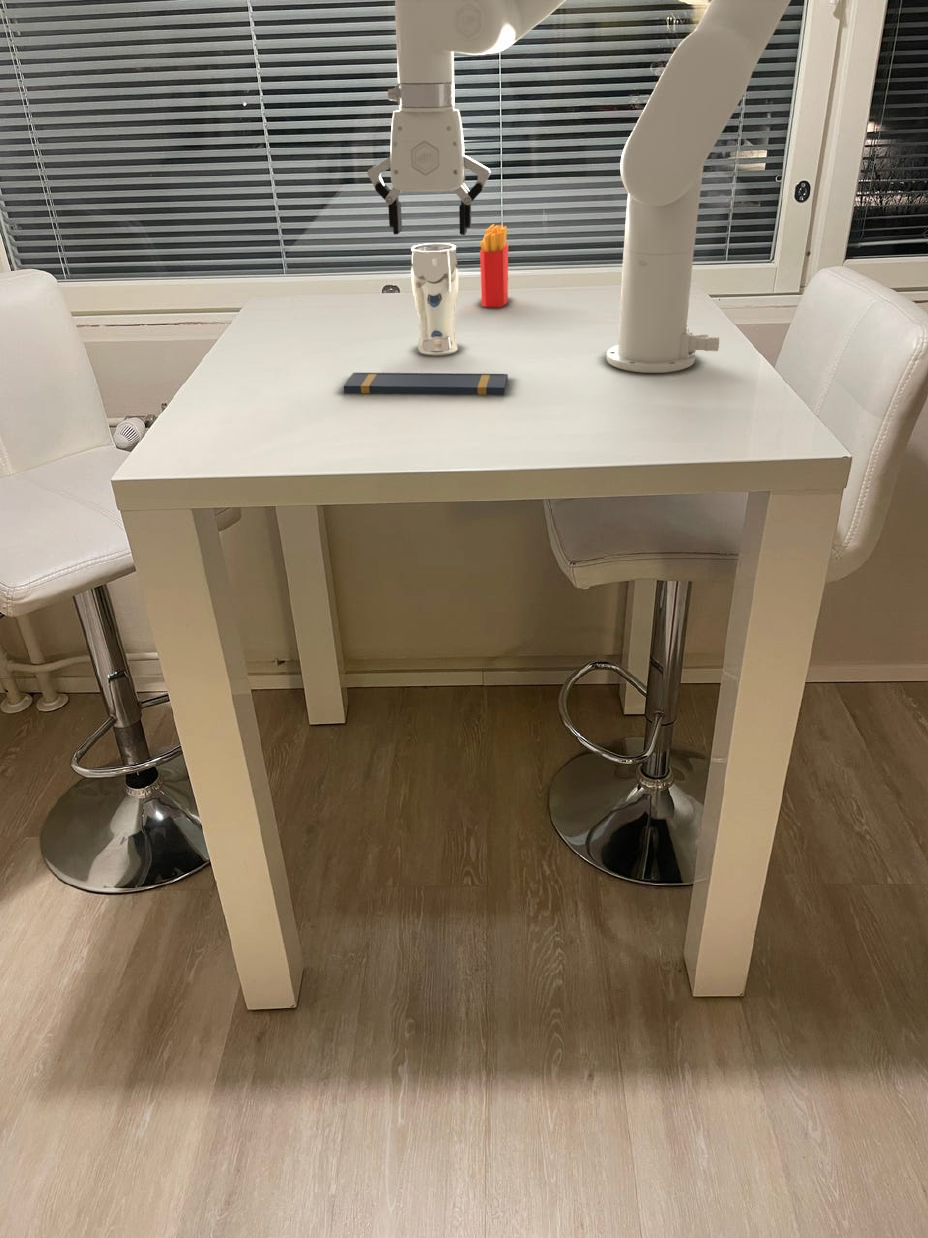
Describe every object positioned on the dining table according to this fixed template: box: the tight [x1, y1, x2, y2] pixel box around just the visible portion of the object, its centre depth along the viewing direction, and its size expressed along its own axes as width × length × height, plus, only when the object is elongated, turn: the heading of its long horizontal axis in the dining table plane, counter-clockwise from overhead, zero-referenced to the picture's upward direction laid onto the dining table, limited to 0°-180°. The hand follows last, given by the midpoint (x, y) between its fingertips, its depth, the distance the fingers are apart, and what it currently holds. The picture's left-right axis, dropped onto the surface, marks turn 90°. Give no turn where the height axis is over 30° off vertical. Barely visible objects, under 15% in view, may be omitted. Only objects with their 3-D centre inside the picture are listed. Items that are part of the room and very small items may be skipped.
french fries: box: [479, 223, 509, 308], centre depth 167 cm, size 9×4×13 cm, turn 168°
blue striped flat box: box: [343, 372, 509, 396], centre depth 130 cm, size 22×6×1 cm, turn 83°
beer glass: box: [410, 242, 459, 357], centre depth 142 cm, size 7×7×15 cm
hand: (430, 232), depth 137 cm, fingers open, 9 cm apart
